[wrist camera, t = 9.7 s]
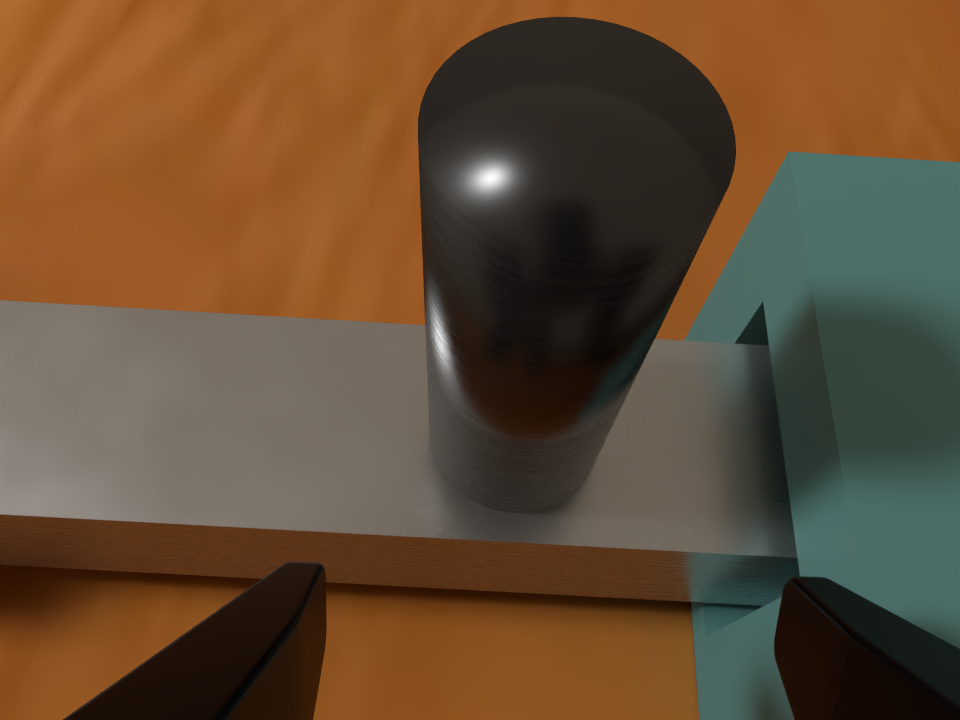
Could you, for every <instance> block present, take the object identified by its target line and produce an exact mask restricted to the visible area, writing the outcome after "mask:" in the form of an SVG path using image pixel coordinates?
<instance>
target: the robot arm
mask: <svg viewBox="0 0 960 720" xmlns="http://www.w3.org/2000/svg"><path fill="white" fill-rule="evenodd" d="M326 628H327V626H326V573H325V568H324V566H323V565H322V564H321V563H318V562H295V561H290V562H286V563H284V564H283V565H281V566H280V567H278V568H277V569H276V570H274V571H273V572H271V573H270V574H268V575H267V576H266V577H264V578H263V579H261V580H260V581H259V582H257V583H256V584H254V585H253V586H251V587H250V588H249V589H247V590H246V591H244V592H243V593H242V594H240V595H239V596H237V597H236V598H234V599H233V600H232V601H230V602H229V603H227V604H226V605H225V606H223V607H222V608H220V609H219V610H217V611H216V612H215V613H213V614H212V615H210V616H209V617H208V618H206V619H205V620H203V621H202V622H201V623H199V624H198V625H196V626H195V627H193V628H192V629H191V630H189V631H188V632H186V633H185V634H184V635H182V636H181V637H179V638H178V639H176V640H175V641H174V642H172V643H171V644H169V645H168V646H167V647H165V648H164V649H162V650H161V651H159V652H158V653H157V654H155V655H154V656H152V657H151V658H150V659H148V660H147V661H145V662H144V663H143V664H141V665H140V666H138V667H137V668H135V669H134V670H133V671H131V672H130V673H128V674H127V675H126V676H124V677H123V678H121V679H120V680H118V681H117V682H116V683H114V684H113V685H111V686H110V687H109V688H107V689H106V690H104V691H103V692H101V693H100V694H99V695H97V696H96V697H94V698H93V699H92V700H90V701H89V702H87V703H86V704H84V705H83V706H82V707H80V708H79V709H77V710H76V711H75V712H73V713H72V714H70V715H69V716H68V717H66V718H65V719H63V720H313V717H314V711H315V705H316V699H317V693H318V687H319V681H320V675H321V669H322V663H323V658H324V652H325V644H326ZM774 655H775V660H776V664H777V667H778V670H779V673H780V676H781V679H782V683H783V686H784V689H785V692H786V695H787V698H788V701H789V704H790V707H791V710H792V714H793V717H794V720H960V648H958V647H956V646H954V645H952V644H950V643H948V642H946V641H945V640H943V639H941V638H939V637H937V636H935V635H933V634H931V633H930V632H928V631H926V630H924V629H922V628H920V627H918V626H916V625H914V624H913V623H911V622H909V621H907V620H905V619H903V618H901V617H899V616H898V615H896V614H894V613H892V612H890V611H888V610H886V609H884V608H883V607H881V606H879V605H877V604H875V603H873V602H871V601H869V600H868V599H866V598H864V597H862V596H860V595H858V594H856V593H854V592H853V591H851V590H849V589H847V588H845V587H843V586H841V585H839V584H838V583H836V582H834V581H832V580H830V579H828V578H824V577H806V576H794V577H791V578H789V579H788V580H787V581H786V583H785V585H784V588H783V592H782V598H781V603H780V609H779V615H778V620H777V626H776V631H775V637H774Z"/></svg>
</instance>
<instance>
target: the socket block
mask: <svg viewBox="0 0 960 720" xmlns="http://www.w3.org/2000/svg"><path fill="white" fill-rule="evenodd" d="M684 341H700V342H717V343H734V344H751V345H768V346H769V349H770V356H771V364H772V371H773V378H774V386H775V393H776V401H777V408H778V416H779V423H780V431H781V438H782V446H783V453H784V461H785V468H786V476H787V483H788V490H789V498H790V505H791V513H792V520H793V528H794V535H795V543H796V550H797V558H798V565H799V573H800V576H806V577H824V578H828V579H830V580H832V581H834V582H836V583H838V584H839V585H841V586H843V587H845V588H847V589H849V590H851V591H853V592H854V593H856V594H858V595H860V596H862V597H864V598H866V599H868V600H869V601H871V602H873V603H875V604H877V605H879V606H881V607H883V608H884V609H886V610H888V611H890V612H892V613H894V614H896V615H898V616H899V617H901V618H903V619H905V620H907V621H909V622H911V623H913V624H914V625H916V626H918V627H920V628H922V629H924V630H926V631H928V632H930V633H931V634H933V635H935V636H937V637H939V638H941V639H943V640H945V641H946V642H948V643H950V644H952V645H954V646H956V647H958V648H960V162H945V161H929V160H913V159H897V158H881V157H865V156H849V155H833V154H817V153H801V152H788V154H787V156H786V157H785V159H784V161H783V163H782V165H781V166H780V168H779V170H778V172H777V174H776V176H775V177H774V179H773V181H772V183H771V185H770V186H769V188H768V190H767V192H766V194H765V195H764V197H763V199H762V201H761V203H760V204H759V206H758V208H757V210H756V212H755V213H754V215H753V217H752V219H751V221H750V222H749V224H748V226H747V228H746V230H745V232H744V233H743V235H742V237H741V239H740V241H739V242H738V244H737V246H736V248H735V250H734V251H733V253H732V255H731V257H730V259H729V260H728V262H727V264H726V266H725V268H724V269H723V271H722V273H721V275H720V277H719V278H718V280H717V282H716V284H715V286H714V287H713V289H712V291H711V293H710V295H709V297H708V298H707V300H706V302H705V304H704V306H703V307H702V309H701V311H700V313H699V315H698V316H697V318H696V320H695V322H694V324H693V325H692V327H691V329H690V331H689V333H688V334H687V336H686V338H685V340H684ZM781 598H782V597H780V598H778V599H776V600H774V601H773V602H771V603H769V604H767V605H765V606H760V605H742V604H723V603H704V602H691V610H692V624H693V638H694V652H695V665H696V679H697V693H698V707H699V720H794V717H793V714H792V710H791V707H790V704H789V701H788V698H787V695H786V692H785V689H784V686H783V683H782V679H781V676H780V673H779V670H778V667H777V664H776V660H775V655H774V637H775V631H776V626H777V620H778V615H779V609H780V603H781Z"/></svg>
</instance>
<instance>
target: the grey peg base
mask: <svg viewBox="0 0 960 720" xmlns="http://www.w3.org/2000/svg"><path fill="white" fill-rule="evenodd" d="M418 147H419V173H420V200H421V226H422V252H423V279H424V305H425V325H411V324H394V323H377V322H360V321H343V320H326V319H309V318H292V317H275V316H258V315H241V314H224V313H207V312H190V311H173V310H156V309H139V308H122V307H105V306H88V305H71V304H54V303H37V302H20V301H3V300H0V565H14V566H33V567H51V568H70V569H89V570H107V571H126V572H145V573H163V574H182V575H201V576H219V577H238V578H257V579H263V578H264V577H266V576H267V575H268V574H270V573H271V572H273V571H274V570H276V569H277V568H278V567H280V566H281V565H283V564H284V563H286V562H290V561H295V562H318V563H321V564H322V565H323V566H324V568H325V573H326V582H331V583H350V584H369V585H387V586H406V587H425V588H443V589H462V590H481V591H499V592H518V593H537V594H555V595H574V596H593V597H611V598H630V599H649V600H667V601H686V602H704V603H723V604H742V605H760V606H765V605H767V604H769V603H771V602H773V601H774V600H776V599H778V598H780V597H782V592H783V588H784V585H785V583H786V581H787V580H788V579H789V578H791V577H794V576H800V573H799V565H798V558H797V550H796V543H795V535H794V528H793V520H792V513H791V505H790V498H789V490H788V483H787V476H786V468H785V461H784V453H783V446H782V438H781V431H780V423H779V416H778V408H777V401H776V393H775V386H774V378H773V371H772V364H771V356H770V349H769V346H768V345H751V344H734V343H717V342H700V341H683V340H666V339H655V337H656V335H657V333H658V331H659V329H660V327H661V325H662V323H663V321H664V319H665V317H666V315H667V312H668V310H669V308H670V306H671V304H672V302H673V300H674V298H675V296H676V294H677V292H678V290H679V288H680V286H681V284H682V281H683V279H684V277H685V275H686V273H687V271H688V269H689V267H690V265H691V263H692V261H693V259H694V257H695V255H696V253H697V251H698V248H699V246H700V244H701V242H702V240H703V238H704V236H705V234H706V232H707V230H708V228H709V226H710V224H711V222H712V220H713V218H714V215H715V213H716V211H717V209H718V207H719V205H720V203H721V201H722V199H723V197H724V195H725V193H726V191H727V189H728V187H729V184H730V181H731V178H732V175H733V171H734V166H735V158H736V143H735V134H734V130H733V125H732V121H731V119H730V116H729V113H728V111H727V108H726V106H725V104H724V103H723V101H722V99H721V97H720V95H719V94H718V92H717V91H716V89H715V88H714V87H713V85H712V84H711V83H710V81H709V80H708V79H707V78H706V77H705V76H704V75H703V74H702V73H701V71H700V70H699V69H698V68H697V67H696V66H695V65H693V64H692V63H691V62H690V61H688V60H687V59H686V58H685V57H684V56H682V55H681V54H680V53H678V52H677V51H675V50H674V49H672V48H670V47H669V46H667V45H666V44H664V43H662V42H660V41H658V40H656V39H654V38H652V37H651V36H648V35H646V34H643V33H641V32H639V31H636V30H634V29H631V28H628V27H624V26H621V25H618V24H614V23H610V22H605V21H600V20H595V19H586V18H577V17H550V18H537V19H532V20H526V21H520V22H516V23H513V24H509V25H505V26H502V27H499V28H497V29H494V30H492V31H489V32H487V33H485V34H483V35H481V36H479V37H477V38H475V39H473V40H472V41H470V42H469V43H467V44H466V45H464V46H463V47H461V48H460V49H459V50H457V51H456V52H455V53H454V54H453V55H452V56H451V57H450V58H448V59H447V60H446V61H445V62H444V64H443V65H442V66H441V67H440V68H439V70H438V71H437V72H436V73H435V75H434V76H433V78H432V80H431V82H430V83H429V85H428V87H427V89H426V91H425V94H424V97H423V99H422V102H421V107H420V112H419V117H418Z"/></svg>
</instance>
